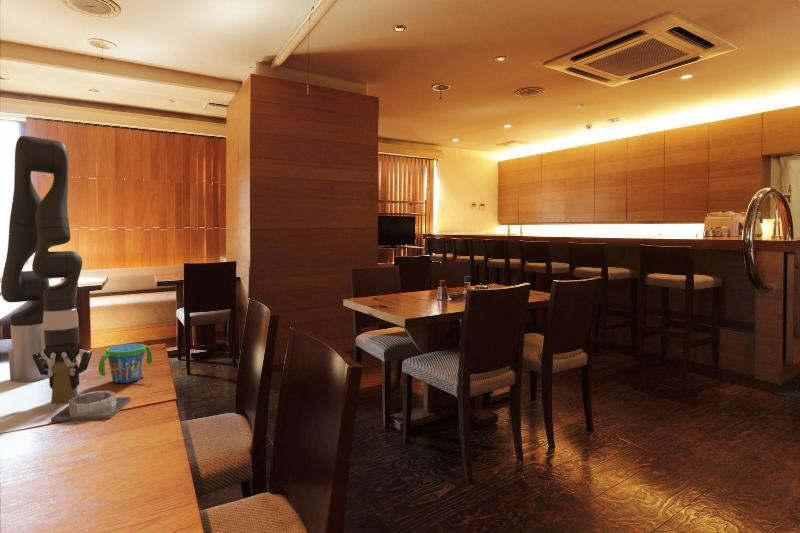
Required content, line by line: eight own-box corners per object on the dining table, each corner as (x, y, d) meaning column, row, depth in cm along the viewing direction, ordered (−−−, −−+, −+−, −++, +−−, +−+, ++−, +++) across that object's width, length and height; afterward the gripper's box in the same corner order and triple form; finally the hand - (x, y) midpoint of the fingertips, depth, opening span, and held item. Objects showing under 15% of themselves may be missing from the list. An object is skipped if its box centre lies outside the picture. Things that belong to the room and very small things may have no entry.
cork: (64, 405, 120) (61, 364, 119) (45, 403, 121) (42, 362, 120) (84, 397, 126) (82, 357, 125) (65, 395, 127) (63, 356, 126)
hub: (51, 422, 110) (50, 408, 109) (77, 403, 122) (76, 390, 121) (110, 418, 112) (109, 405, 112) (130, 400, 124) (130, 388, 123)
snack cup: (143, 370, 150) (142, 340, 149) (161, 376, 144) (160, 344, 143) (91, 383, 137) (89, 350, 136) (108, 390, 131) (107, 355, 130)
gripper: (97, 322, 127) (100, 382, 128) (40, 324, 125) (43, 385, 126) (83, 328, 120) (86, 392, 121) (22, 329, 117) (26, 395, 119)
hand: (64, 388), depth 123 cm, fingers closed on cork, 4 cm apart
